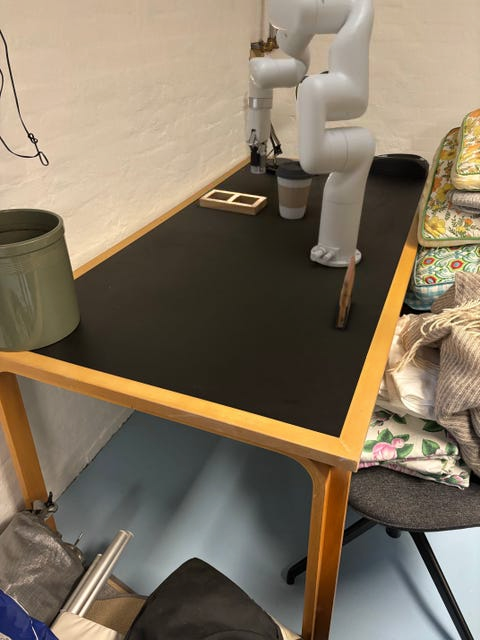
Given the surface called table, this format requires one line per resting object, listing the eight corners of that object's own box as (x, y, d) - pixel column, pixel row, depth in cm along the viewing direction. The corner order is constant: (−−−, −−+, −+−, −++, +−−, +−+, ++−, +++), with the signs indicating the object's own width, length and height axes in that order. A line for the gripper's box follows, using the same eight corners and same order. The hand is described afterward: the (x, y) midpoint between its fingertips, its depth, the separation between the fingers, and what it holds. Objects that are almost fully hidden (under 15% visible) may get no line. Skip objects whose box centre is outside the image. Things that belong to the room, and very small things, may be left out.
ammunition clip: (342, 301, 109) (349, 251, 102) (351, 303, 108) (358, 252, 102) (335, 327, 100) (342, 274, 94) (344, 329, 100) (352, 275, 93)
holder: (254, 215, 152) (254, 207, 151) (199, 206, 159) (199, 198, 157) (266, 204, 160) (266, 197, 159) (213, 196, 167) (213, 189, 165)
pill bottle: (264, 169, 166) (265, 143, 162) (265, 173, 162) (267, 147, 158) (250, 169, 166) (251, 143, 161) (251, 173, 162) (251, 147, 157)
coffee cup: (317, 219, 150) (322, 168, 142) (283, 223, 147) (286, 172, 139) (299, 206, 159) (303, 158, 151) (267, 211, 156) (269, 162, 148)
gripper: (258, 98, 161) (257, 156, 170) (238, 106, 147) (237, 168, 157) (281, 100, 158) (278, 158, 168) (261, 108, 145) (259, 171, 155)
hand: (258, 163), depth 162 cm, fingers closed on pill bottle, 4 cm apart
